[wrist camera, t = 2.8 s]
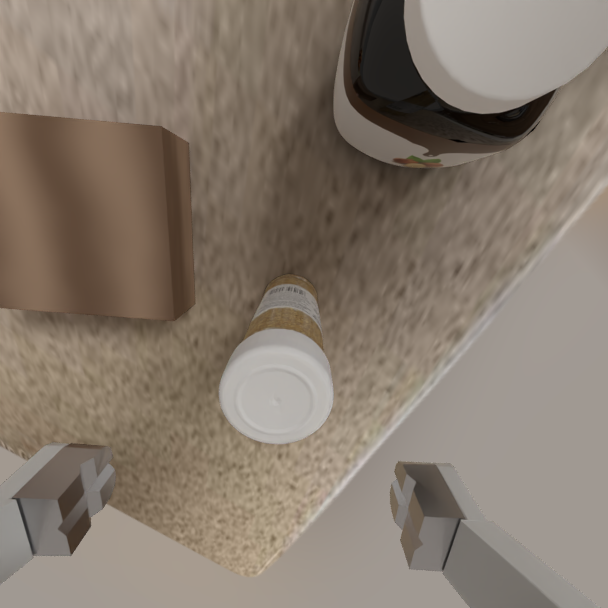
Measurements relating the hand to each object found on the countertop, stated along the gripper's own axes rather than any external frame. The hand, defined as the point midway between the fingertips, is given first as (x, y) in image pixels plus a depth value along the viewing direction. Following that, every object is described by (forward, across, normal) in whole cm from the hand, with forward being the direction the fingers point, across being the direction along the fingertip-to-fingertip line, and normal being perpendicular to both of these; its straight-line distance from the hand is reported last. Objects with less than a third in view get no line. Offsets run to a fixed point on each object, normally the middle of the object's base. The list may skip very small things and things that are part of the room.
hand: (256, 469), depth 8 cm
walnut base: (+16, +14, -5) cm, 22 cm away
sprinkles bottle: (+16, 0, 0) cm, 16 cm away
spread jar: (+16, -8, -16) cm, 25 cm away
